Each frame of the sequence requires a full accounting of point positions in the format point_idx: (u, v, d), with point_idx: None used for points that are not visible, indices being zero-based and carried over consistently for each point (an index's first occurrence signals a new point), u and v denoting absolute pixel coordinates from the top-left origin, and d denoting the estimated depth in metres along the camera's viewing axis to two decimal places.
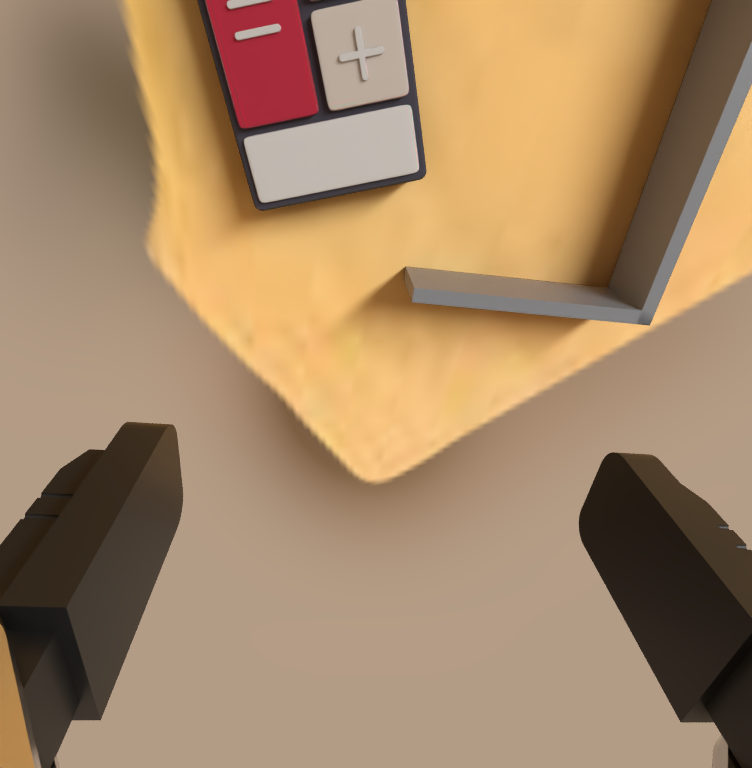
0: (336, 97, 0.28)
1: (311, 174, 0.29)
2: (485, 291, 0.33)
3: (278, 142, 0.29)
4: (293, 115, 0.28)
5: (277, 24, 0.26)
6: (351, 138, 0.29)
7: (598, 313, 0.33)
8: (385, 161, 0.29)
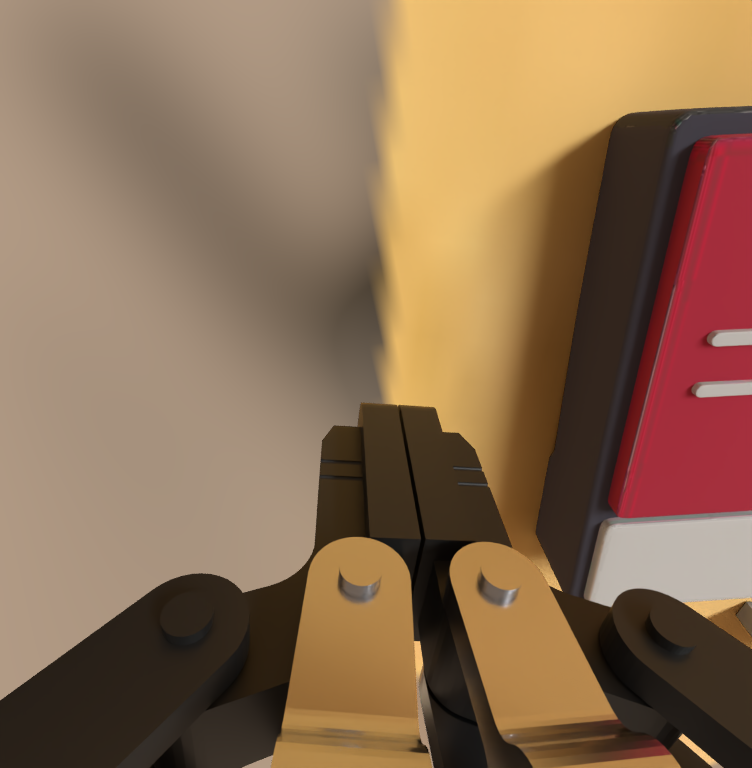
0: None
1: (699, 581, 0.16)
2: None
3: (668, 535, 0.15)
4: (724, 509, 0.14)
5: None
6: None
7: None
8: None
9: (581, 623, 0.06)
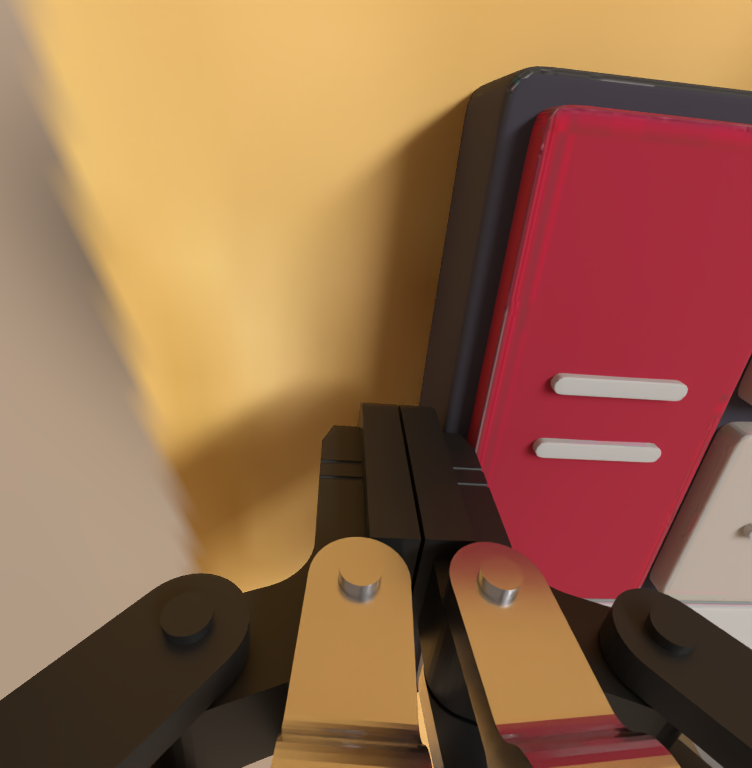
0: (690, 584, 0.11)
1: None
2: None
3: None
4: (578, 594, 0.11)
5: (655, 447, 0.09)
6: None
7: None
8: None
9: (581, 623, 0.06)
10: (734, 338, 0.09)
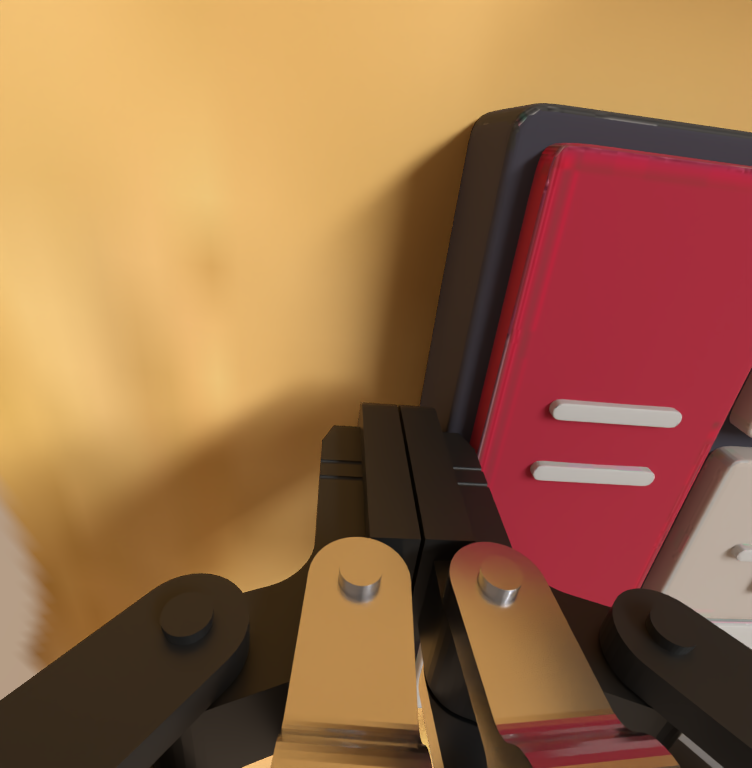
0: None
1: None
2: None
3: None
4: None
5: (649, 472, 0.10)
6: None
7: None
8: None
9: (581, 623, 0.06)
10: (728, 368, 0.09)
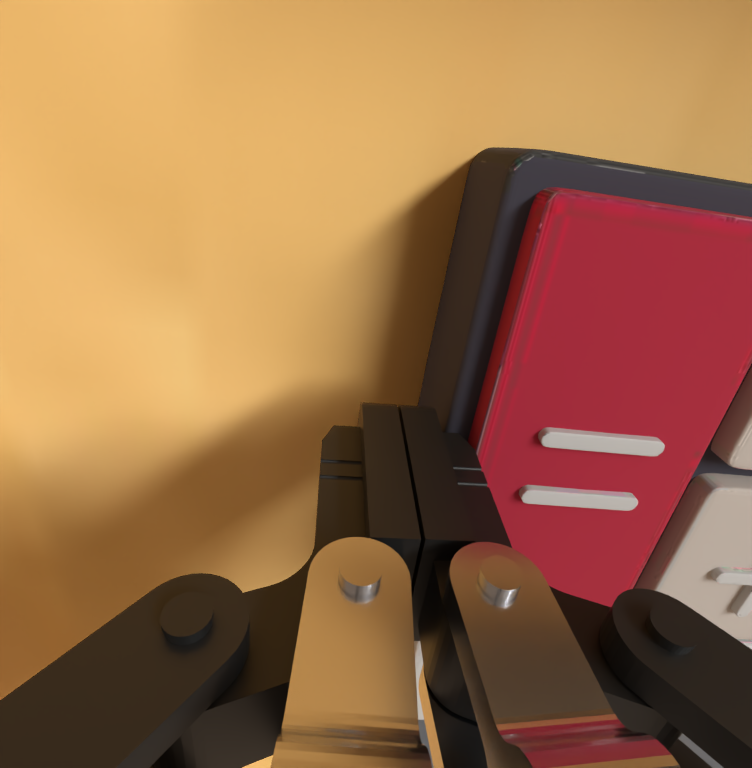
0: None
1: None
2: None
3: None
4: None
5: (632, 497, 0.10)
6: None
7: None
8: None
9: (581, 623, 0.06)
10: (709, 401, 0.09)
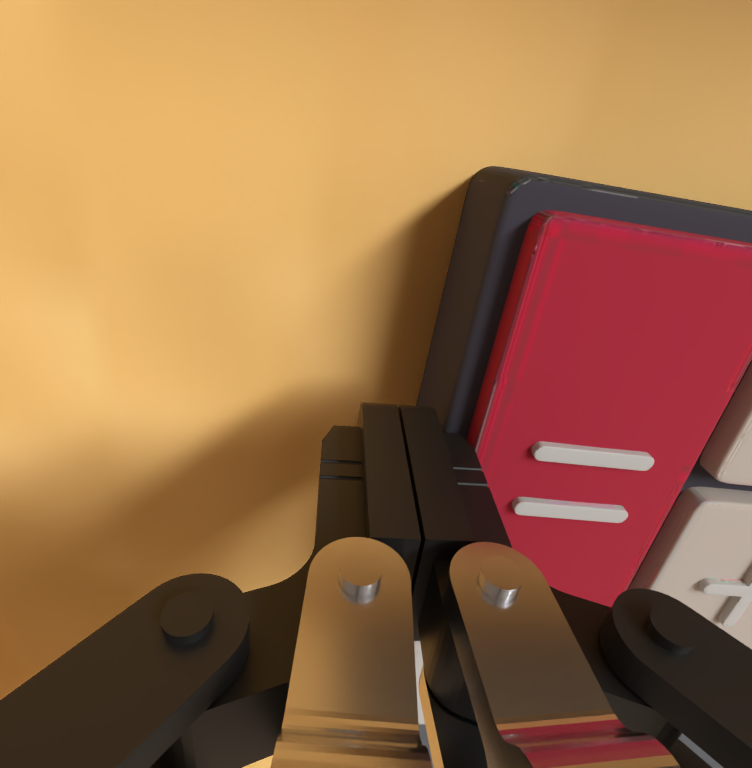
0: None
1: None
2: None
3: None
4: None
5: (622, 510, 0.10)
6: None
7: None
8: None
9: (581, 623, 0.06)
10: (698, 418, 0.09)
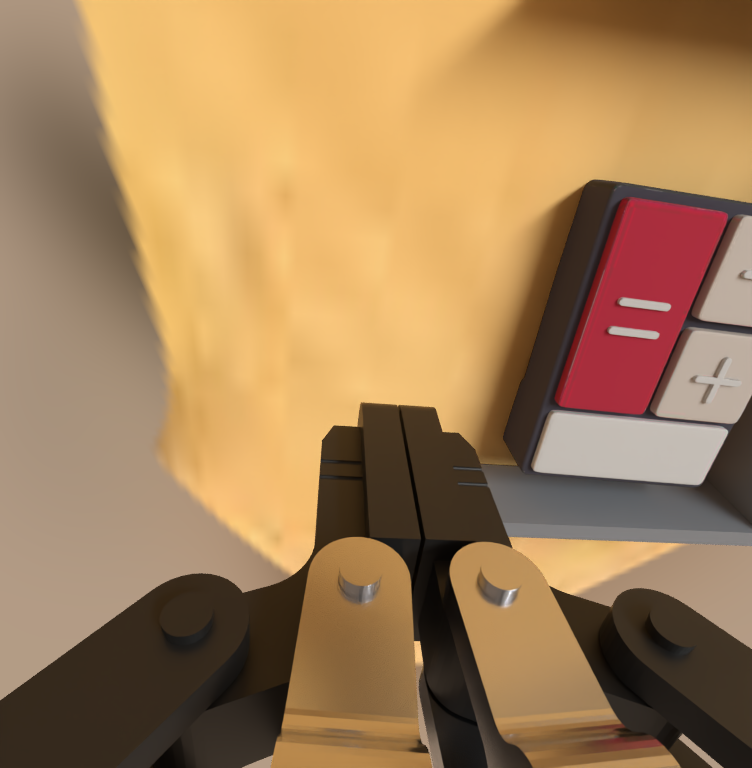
0: (668, 407, 0.25)
1: (599, 461, 0.26)
2: (569, 514, 0.27)
3: (585, 425, 0.25)
4: (617, 410, 0.24)
5: (656, 332, 0.23)
6: (657, 442, 0.26)
7: (707, 537, 0.27)
8: (675, 469, 0.27)
9: (581, 623, 0.06)
10: (689, 286, 0.22)
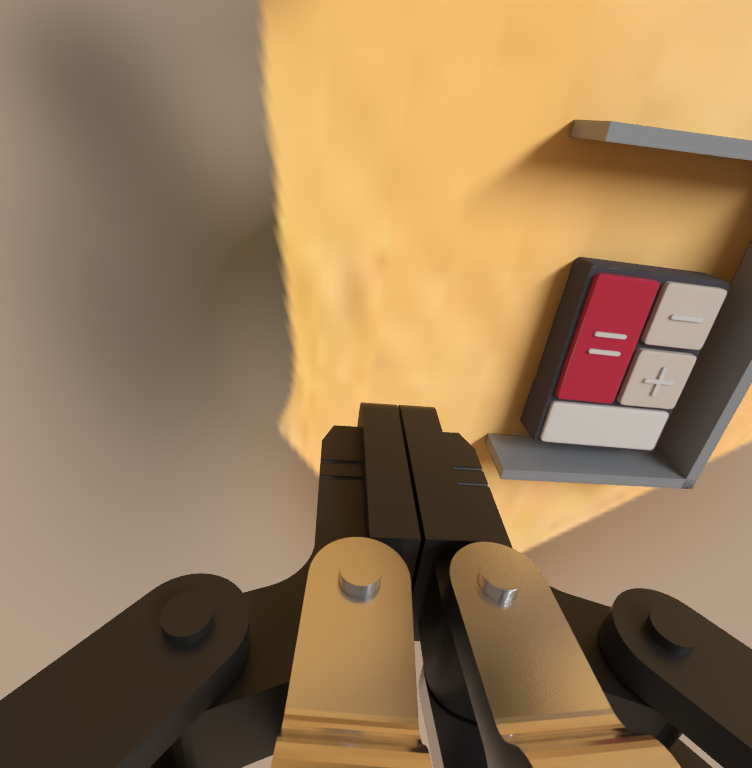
0: (628, 398, 0.38)
1: (584, 434, 0.40)
2: (558, 466, 0.41)
3: (575, 410, 0.39)
4: (595, 400, 0.38)
5: (618, 352, 0.36)
6: (622, 421, 0.40)
7: (650, 482, 0.41)
8: (635, 439, 0.41)
9: (581, 623, 0.06)
10: (638, 324, 0.36)
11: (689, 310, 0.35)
